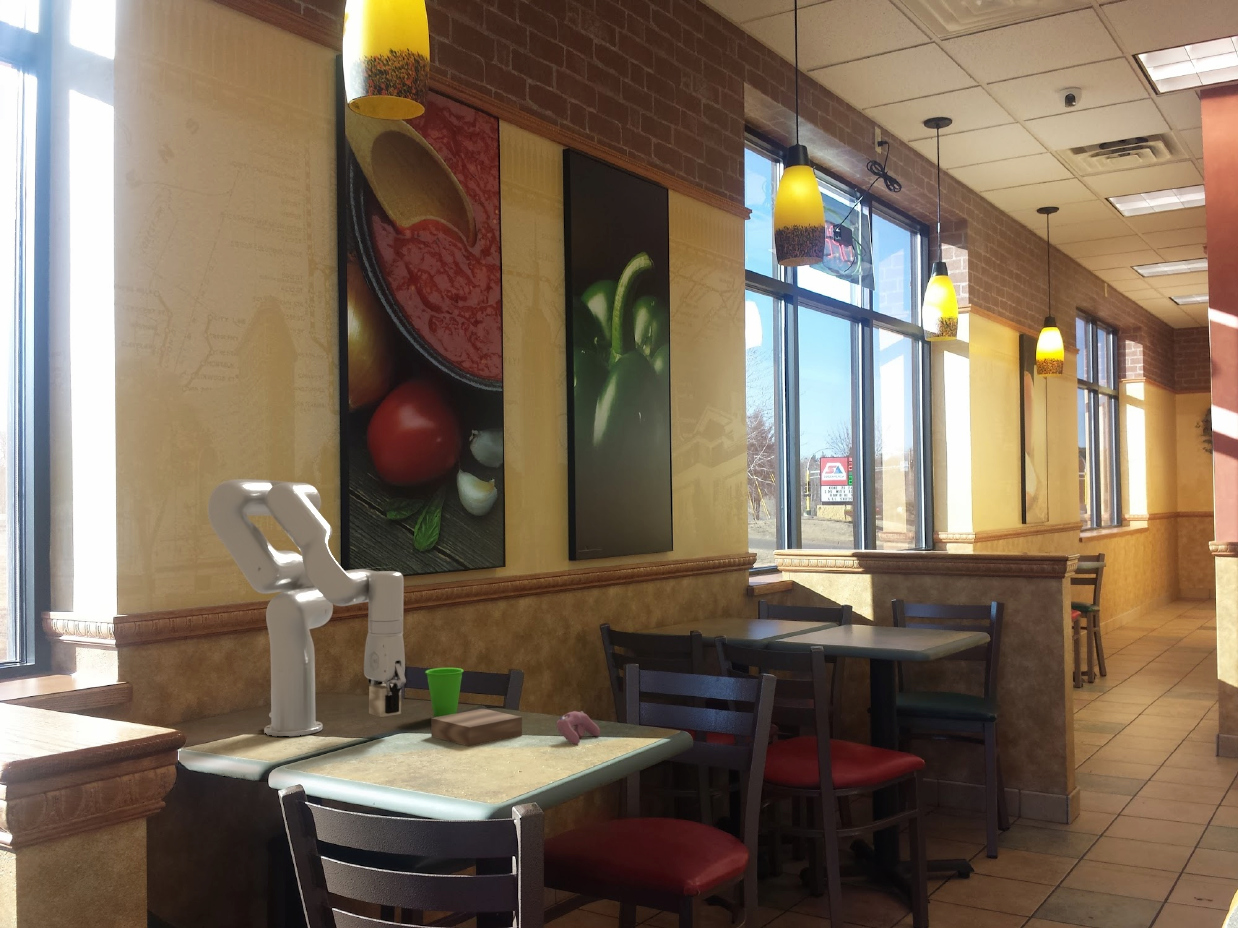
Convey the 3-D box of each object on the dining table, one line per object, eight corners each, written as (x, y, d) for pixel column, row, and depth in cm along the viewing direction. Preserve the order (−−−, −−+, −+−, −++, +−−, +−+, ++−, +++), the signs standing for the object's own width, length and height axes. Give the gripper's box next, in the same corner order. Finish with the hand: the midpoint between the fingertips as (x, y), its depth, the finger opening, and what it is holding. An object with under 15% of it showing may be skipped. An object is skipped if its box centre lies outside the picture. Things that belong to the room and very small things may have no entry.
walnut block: (431, 736, 241) (431, 717, 241) (483, 726, 250) (483, 708, 250) (469, 746, 231) (469, 727, 231) (522, 735, 240) (521, 716, 240)
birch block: (368, 713, 243) (369, 685, 243) (388, 710, 246) (388, 683, 246) (381, 716, 239) (381, 689, 239) (401, 713, 242) (401, 686, 243)
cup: (457, 721, 256) (457, 673, 256) (420, 720, 257) (419, 673, 258) (469, 713, 265) (468, 667, 265) (432, 713, 266) (432, 667, 267)
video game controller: (587, 741, 240) (574, 711, 242) (603, 733, 238) (590, 703, 240) (562, 751, 232) (549, 719, 233) (578, 743, 230) (565, 711, 231)
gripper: (350, 625, 246) (349, 707, 246) (392, 633, 234) (391, 719, 234) (380, 622, 252) (379, 702, 251) (422, 630, 239) (421, 714, 239)
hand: (385, 709), depth 243 cm, fingers closed on birch block, 4 cm apart
